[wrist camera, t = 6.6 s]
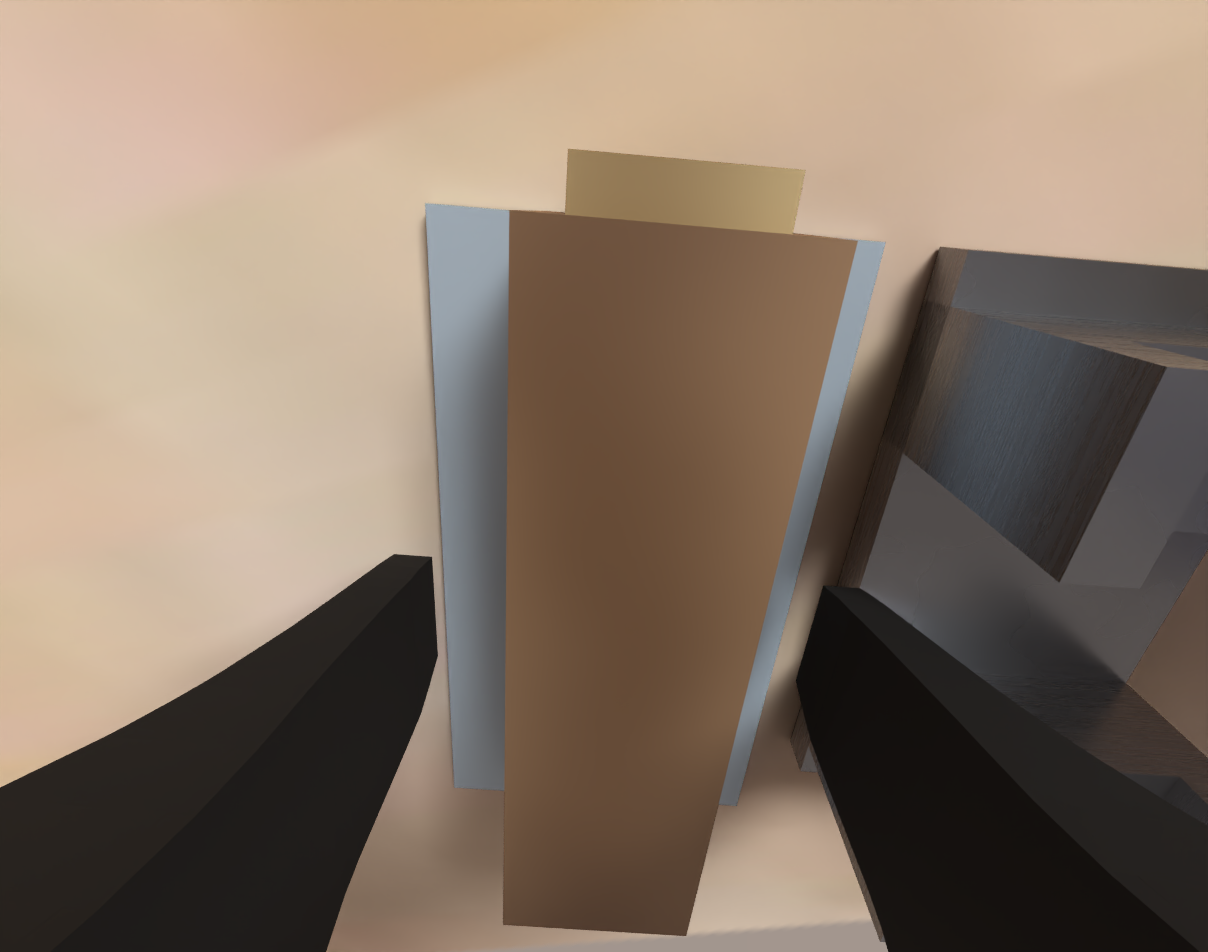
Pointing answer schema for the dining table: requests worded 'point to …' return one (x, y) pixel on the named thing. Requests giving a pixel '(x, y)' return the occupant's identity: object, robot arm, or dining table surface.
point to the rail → (646, 514)
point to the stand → (1047, 494)
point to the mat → (479, 481)
